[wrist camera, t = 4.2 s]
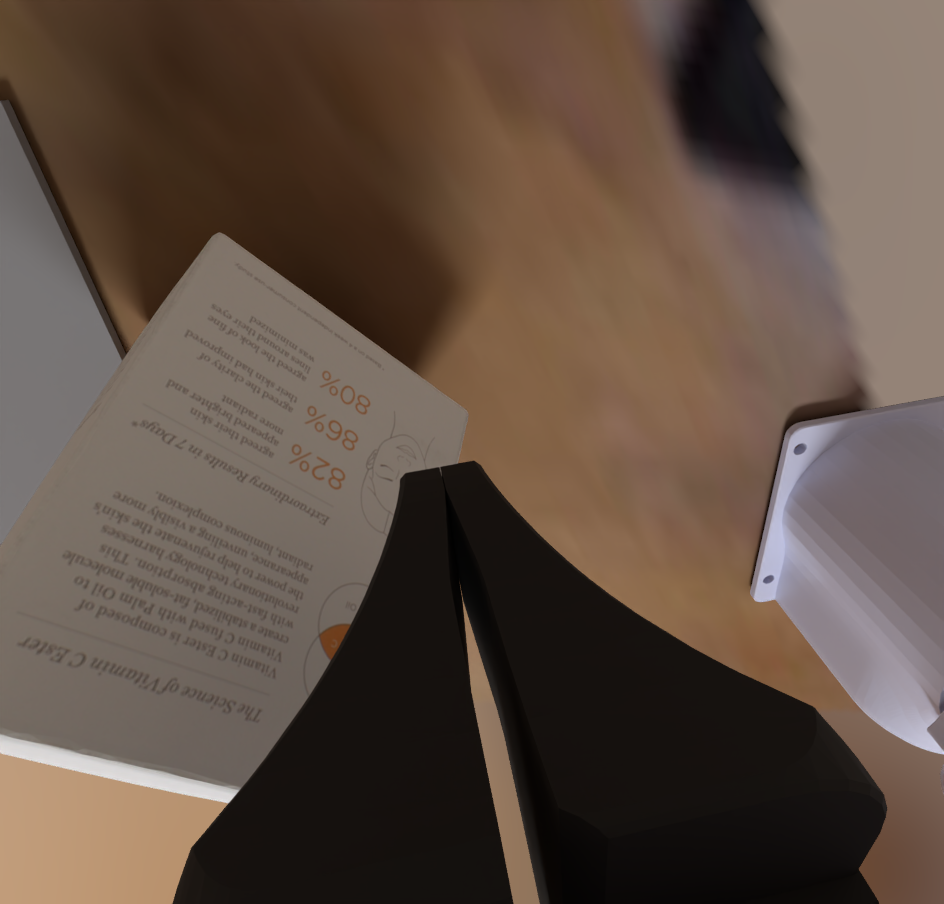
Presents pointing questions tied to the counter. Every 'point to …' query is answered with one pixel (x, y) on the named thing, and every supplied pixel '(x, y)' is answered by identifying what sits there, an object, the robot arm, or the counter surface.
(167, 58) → the counter surface
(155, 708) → the small box
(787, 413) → the counter surface
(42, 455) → the gray mat
